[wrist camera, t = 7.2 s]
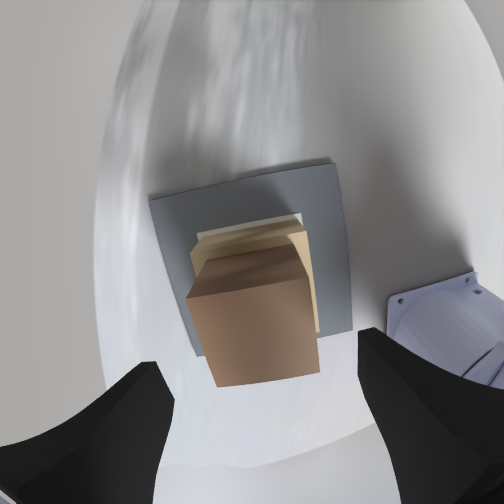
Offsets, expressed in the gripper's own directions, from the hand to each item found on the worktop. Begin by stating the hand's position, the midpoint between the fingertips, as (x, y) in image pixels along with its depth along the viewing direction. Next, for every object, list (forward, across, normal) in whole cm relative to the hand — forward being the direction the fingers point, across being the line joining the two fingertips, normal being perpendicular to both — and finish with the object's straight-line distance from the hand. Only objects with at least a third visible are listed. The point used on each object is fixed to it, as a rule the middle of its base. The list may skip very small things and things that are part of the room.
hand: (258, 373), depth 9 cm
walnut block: (+6, 0, 0) cm, 6 cm away
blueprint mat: (+10, 0, 0) cm, 10 cm away
